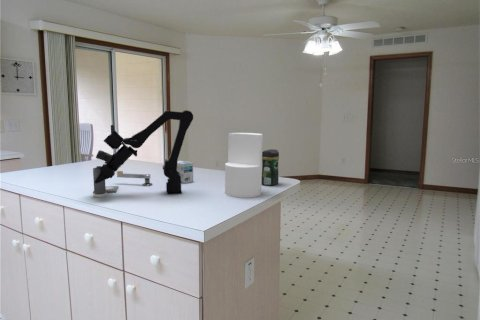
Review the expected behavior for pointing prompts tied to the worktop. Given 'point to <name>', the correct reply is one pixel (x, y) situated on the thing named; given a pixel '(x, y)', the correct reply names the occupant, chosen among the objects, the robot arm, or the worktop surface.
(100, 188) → the plug
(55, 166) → the worktop surface
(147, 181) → the grey flanged disc
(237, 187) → the cylinder
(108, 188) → the socket
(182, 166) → the light bulb box
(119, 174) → the bar
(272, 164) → the coffee jar
